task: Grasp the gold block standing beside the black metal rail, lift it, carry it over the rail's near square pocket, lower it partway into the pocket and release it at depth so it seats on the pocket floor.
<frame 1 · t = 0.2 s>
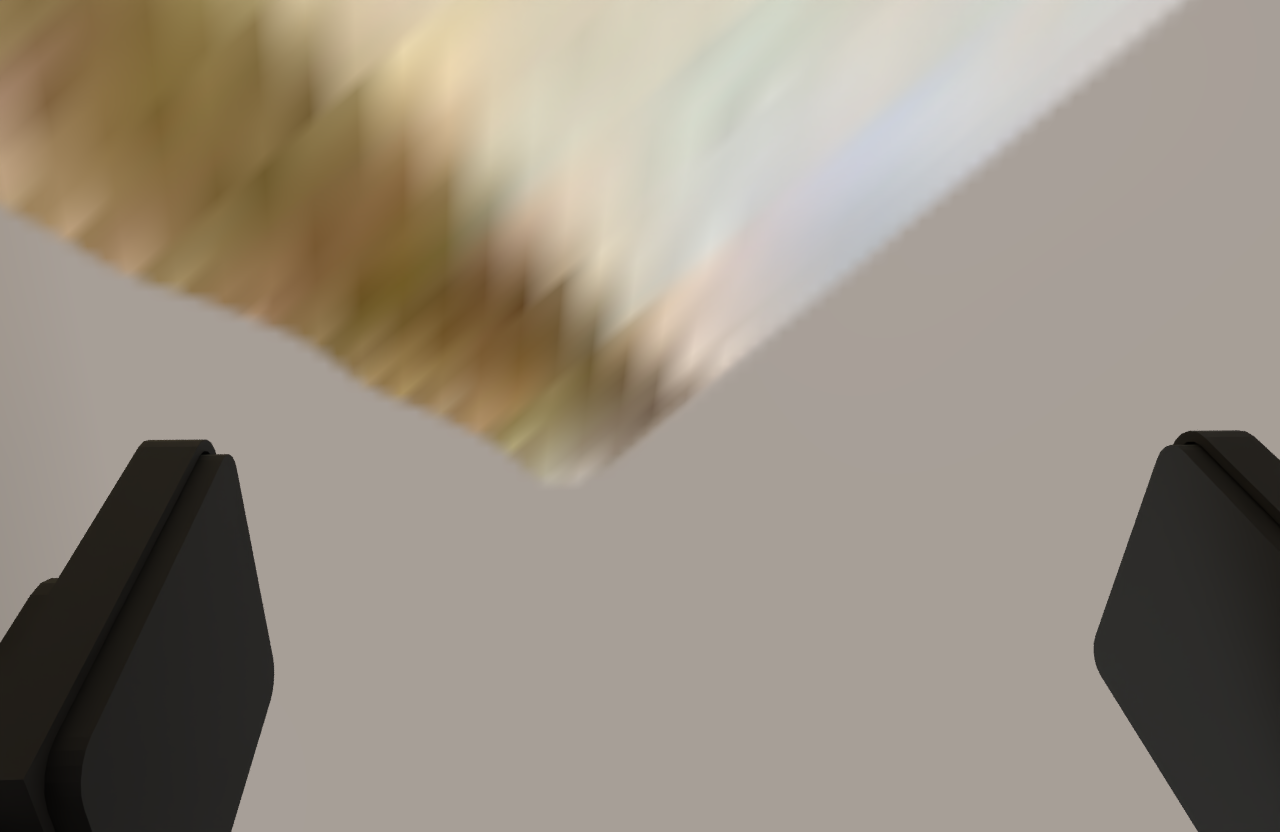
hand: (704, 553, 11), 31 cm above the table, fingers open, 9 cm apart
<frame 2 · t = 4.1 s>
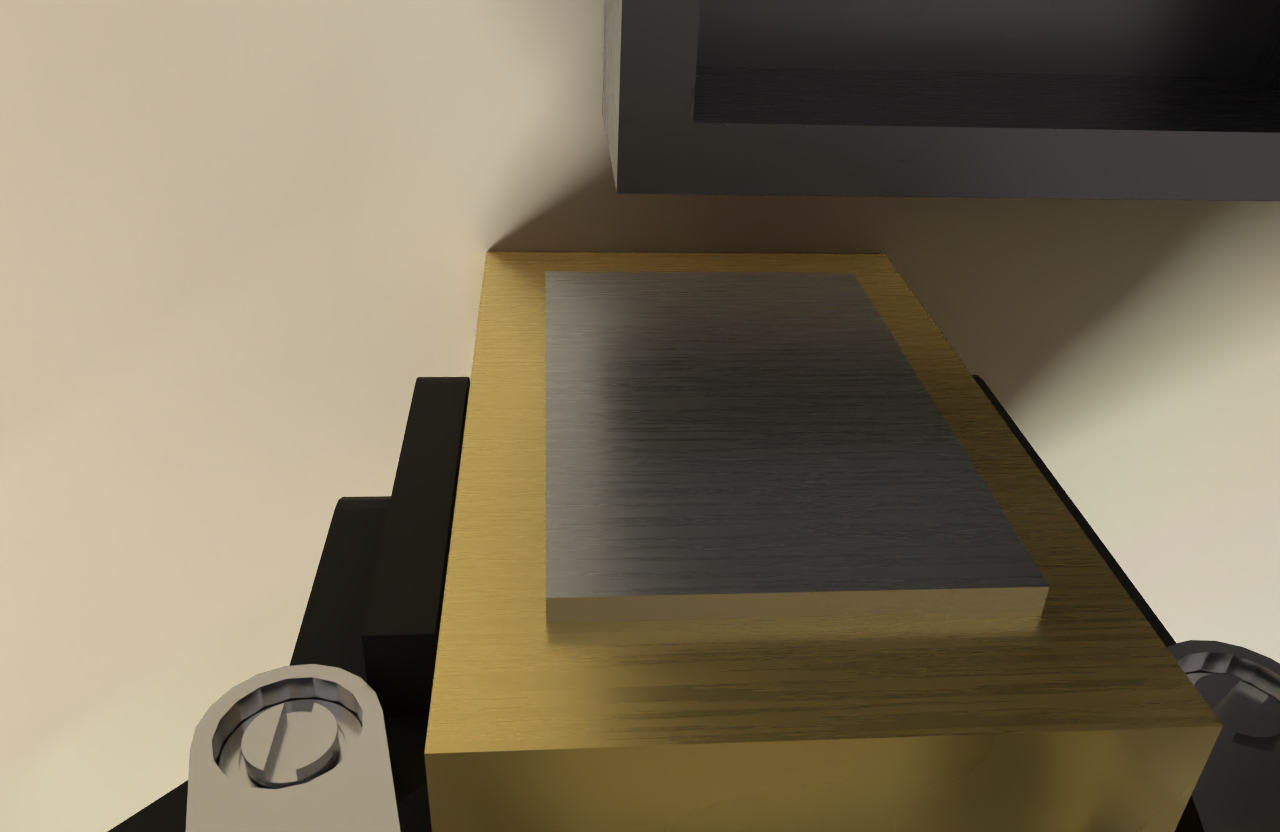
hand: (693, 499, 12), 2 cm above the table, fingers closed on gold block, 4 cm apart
gold block: (677, 423, 13), on the table, touching gripper
when the fingers open (3 cm above the table, at t = 8.4 s): gold block drops 1 cm, resting on rail.
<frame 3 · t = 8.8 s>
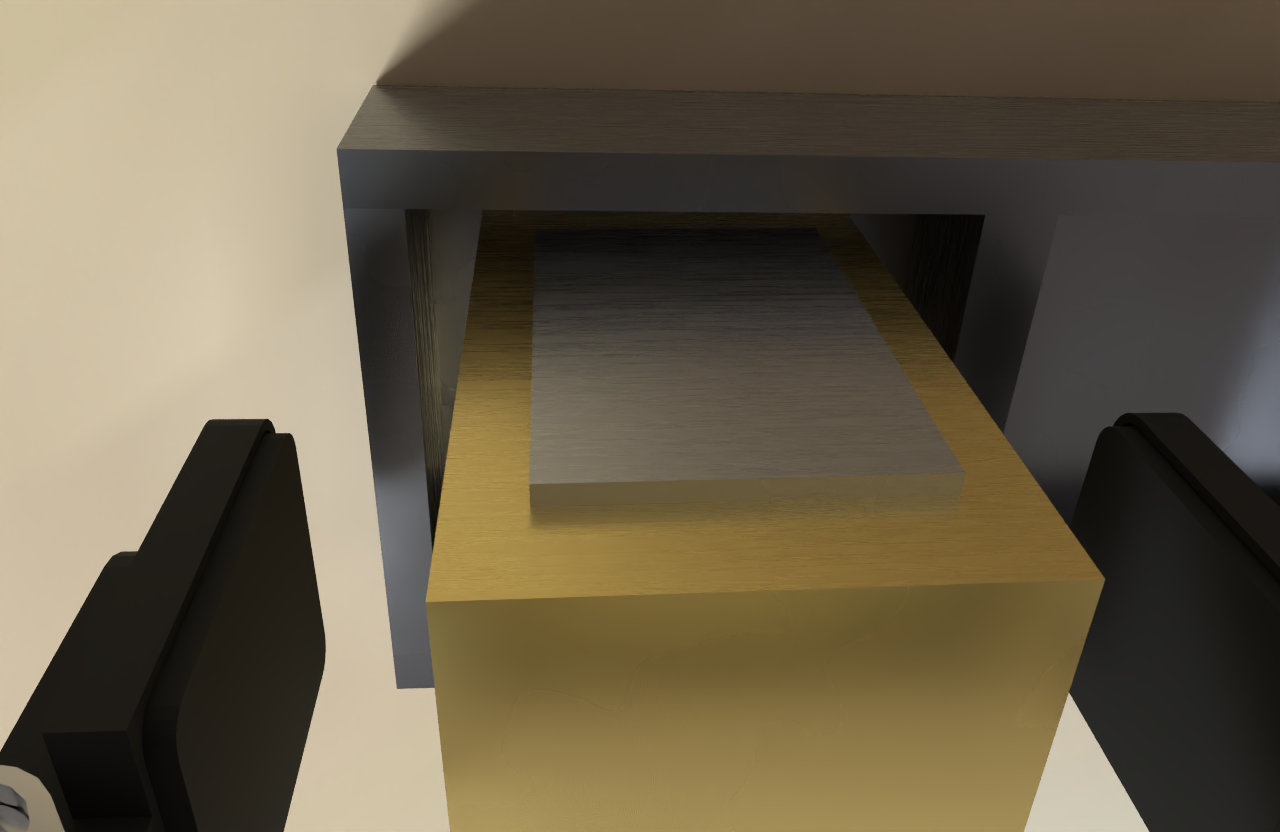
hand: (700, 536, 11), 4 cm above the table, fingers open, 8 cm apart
rail: (904, 356, 15), on the table
gold block: (661, 375, 14), resting on rail
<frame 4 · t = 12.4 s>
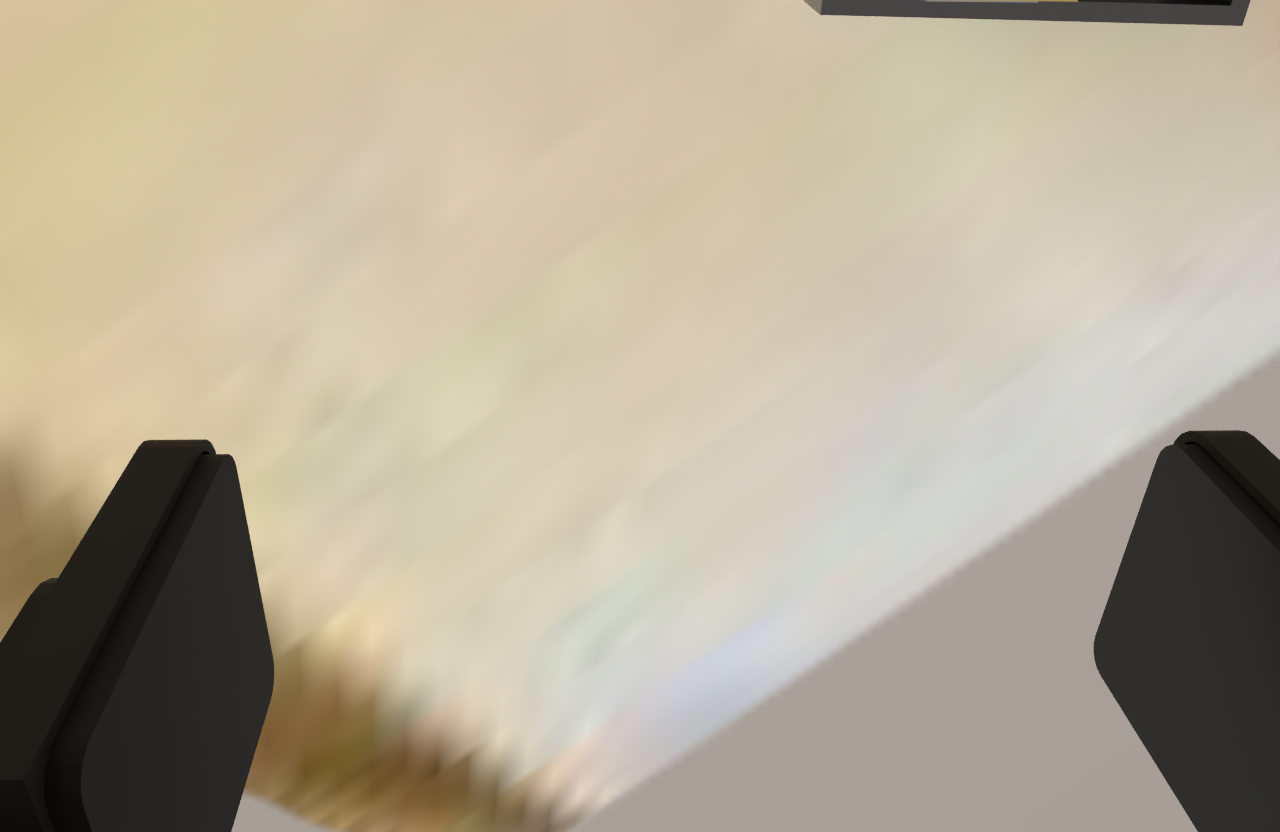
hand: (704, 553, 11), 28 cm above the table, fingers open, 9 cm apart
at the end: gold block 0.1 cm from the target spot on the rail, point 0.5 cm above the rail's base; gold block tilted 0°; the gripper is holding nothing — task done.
